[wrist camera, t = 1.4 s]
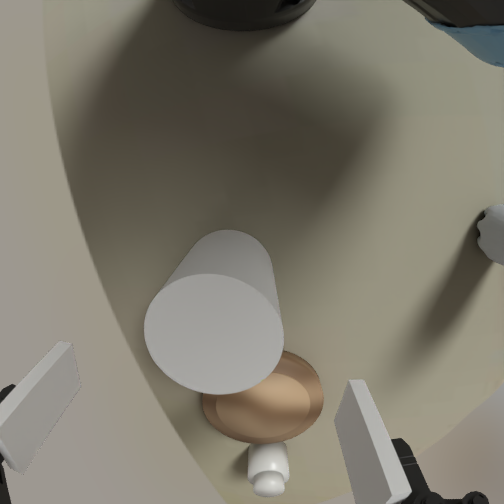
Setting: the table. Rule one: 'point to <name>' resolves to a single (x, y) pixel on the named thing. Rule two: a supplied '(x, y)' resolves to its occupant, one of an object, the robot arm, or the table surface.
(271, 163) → the table surface
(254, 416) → the brown wooden plate
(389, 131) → the table surface
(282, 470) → the white knobbed rounded part
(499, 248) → the bottle
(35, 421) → the robot arm
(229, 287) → the white cylindrical piece
